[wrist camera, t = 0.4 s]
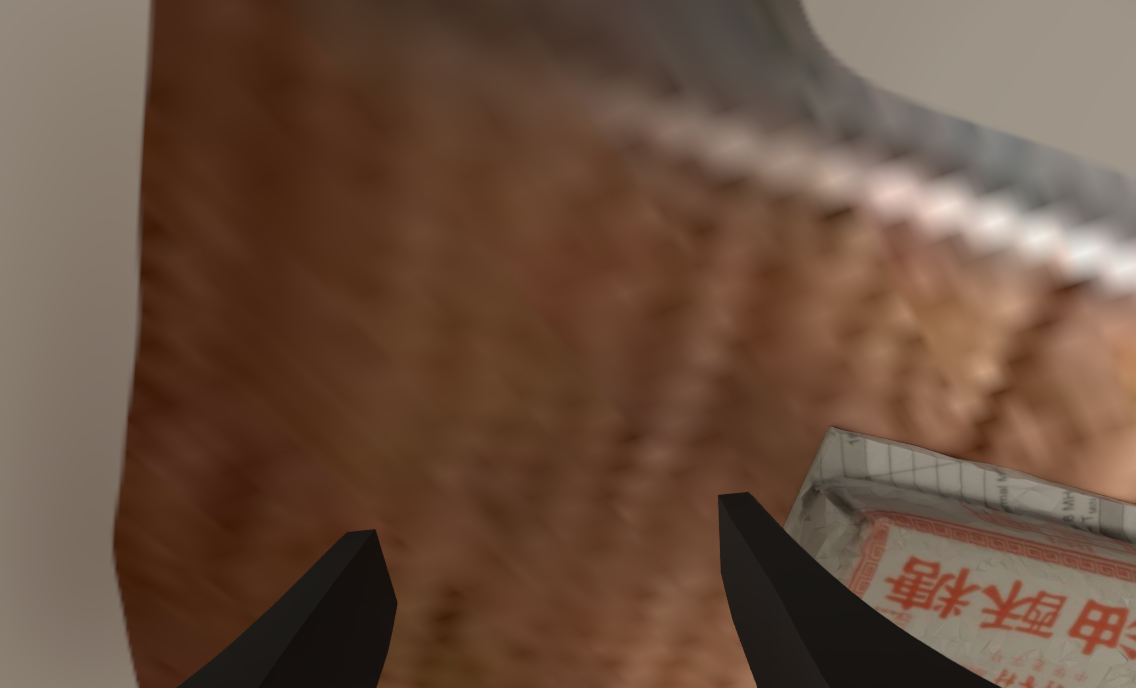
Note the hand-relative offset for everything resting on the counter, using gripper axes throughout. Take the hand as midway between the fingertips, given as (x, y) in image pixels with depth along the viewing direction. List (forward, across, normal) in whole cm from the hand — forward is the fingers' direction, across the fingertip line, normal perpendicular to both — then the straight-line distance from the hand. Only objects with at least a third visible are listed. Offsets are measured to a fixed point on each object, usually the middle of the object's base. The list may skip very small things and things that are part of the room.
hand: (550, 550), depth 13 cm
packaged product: (+10, -16, +12) cm, 23 cm away
